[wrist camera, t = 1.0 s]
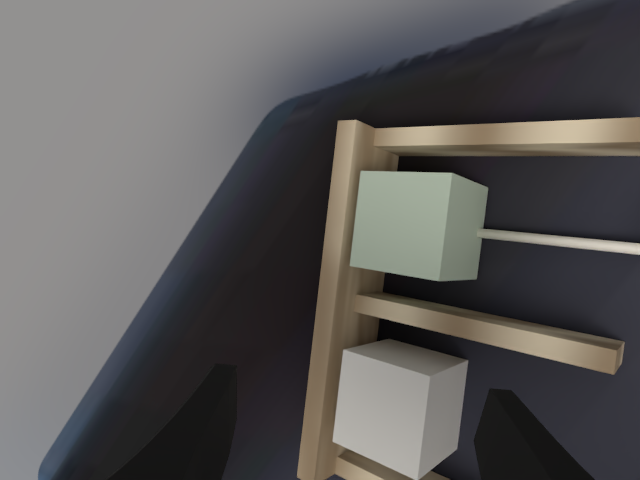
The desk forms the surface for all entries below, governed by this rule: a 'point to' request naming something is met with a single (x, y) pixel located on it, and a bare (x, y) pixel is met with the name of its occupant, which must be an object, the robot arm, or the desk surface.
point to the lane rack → (372, 303)
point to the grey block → (400, 405)
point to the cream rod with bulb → (435, 226)
